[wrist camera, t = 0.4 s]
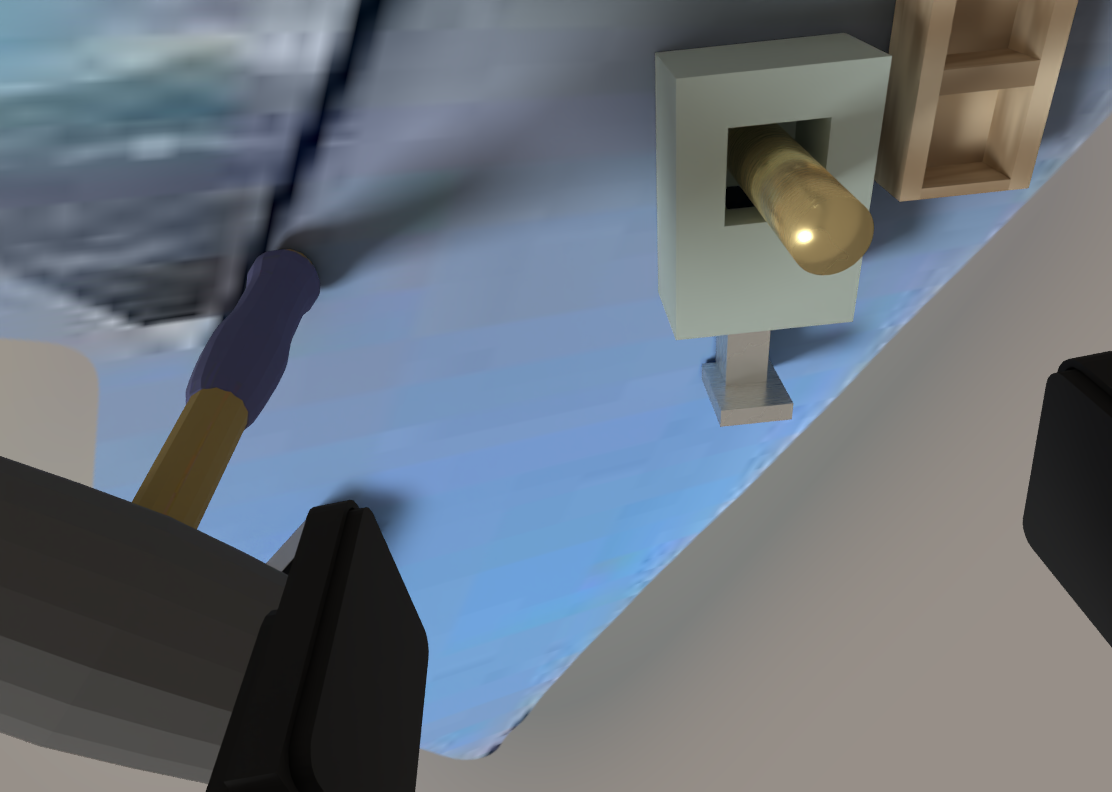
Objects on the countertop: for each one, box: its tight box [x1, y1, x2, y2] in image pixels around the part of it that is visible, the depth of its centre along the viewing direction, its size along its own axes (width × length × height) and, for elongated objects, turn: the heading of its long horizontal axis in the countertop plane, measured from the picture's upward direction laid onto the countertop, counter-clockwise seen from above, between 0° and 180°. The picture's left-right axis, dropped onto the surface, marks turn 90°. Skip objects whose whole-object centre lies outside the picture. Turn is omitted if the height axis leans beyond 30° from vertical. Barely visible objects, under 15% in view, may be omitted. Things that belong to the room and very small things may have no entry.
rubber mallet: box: [0, 249, 320, 784], centre depth 34 cm, size 12×8×30 cm, turn 53°
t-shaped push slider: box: [702, 330, 793, 427], centre depth 48 cm, size 8×4×5 cm, turn 5°
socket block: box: [655, 33, 892, 340], centre depth 42 cm, size 14×10×6 cm
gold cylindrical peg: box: [727, 123, 874, 275], centre depth 37 cm, size 3×3×13 cm
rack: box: [874, 0, 1078, 202], centre depth 37 cm, size 18×7×9 cm, turn 5°
